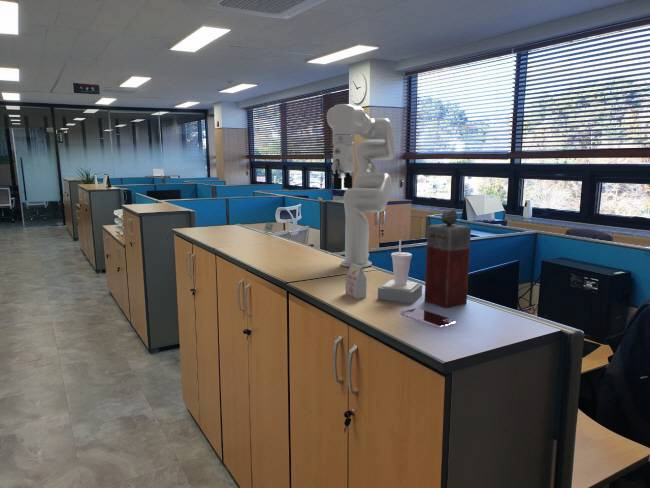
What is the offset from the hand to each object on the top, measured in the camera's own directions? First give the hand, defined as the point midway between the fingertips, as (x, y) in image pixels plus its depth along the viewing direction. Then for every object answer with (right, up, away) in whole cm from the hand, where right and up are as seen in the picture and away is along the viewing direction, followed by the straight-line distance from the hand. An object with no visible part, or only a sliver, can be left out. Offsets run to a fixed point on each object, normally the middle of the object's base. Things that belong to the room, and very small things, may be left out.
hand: (342, 188), depth 171 cm
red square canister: (+29, -38, -27) cm, 55 cm away
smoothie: (+17, -33, -23) cm, 44 cm away
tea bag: (+3, -37, -21) cm, 43 cm away
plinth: (+17, -37, -22) cm, 46 cm away
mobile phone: (+22, -41, -43) cm, 63 cm away
